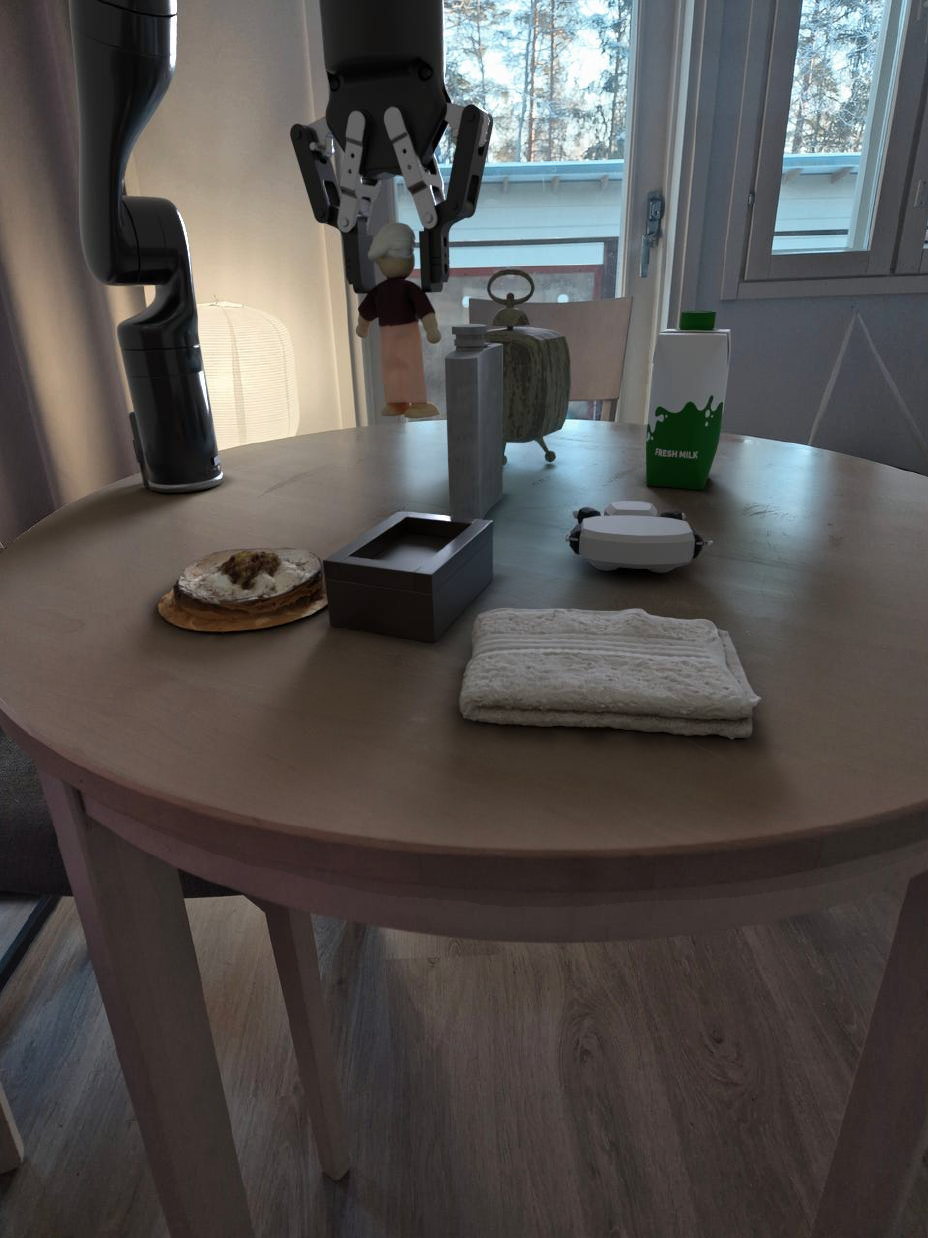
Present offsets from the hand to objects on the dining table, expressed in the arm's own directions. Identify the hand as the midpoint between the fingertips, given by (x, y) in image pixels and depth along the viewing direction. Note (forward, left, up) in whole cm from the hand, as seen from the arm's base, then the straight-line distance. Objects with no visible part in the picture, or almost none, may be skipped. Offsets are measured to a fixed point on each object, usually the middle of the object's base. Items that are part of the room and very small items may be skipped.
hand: (397, 291), depth 50 cm
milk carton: (+16, +44, -24) cm, 53 cm away
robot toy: (+15, +15, -24) cm, 32 cm away
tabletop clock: (-8, +47, -24) cm, 54 cm away
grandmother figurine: (0, 0, -9) cm, 9 cm away
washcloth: (+18, -9, -24) cm, 31 cm away
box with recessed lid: (0, -1, -24) cm, 24 cm away
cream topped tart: (-14, -4, -24) cm, 28 cm away
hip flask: (-4, +23, -24) cm, 34 cm away
